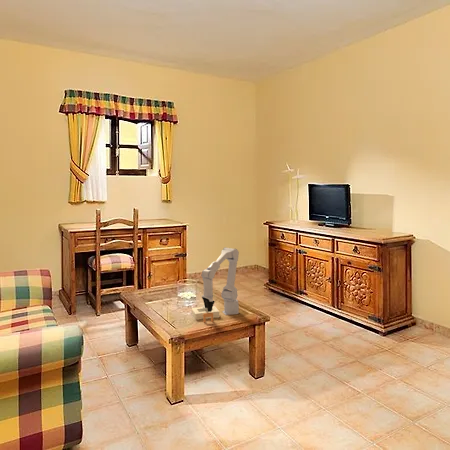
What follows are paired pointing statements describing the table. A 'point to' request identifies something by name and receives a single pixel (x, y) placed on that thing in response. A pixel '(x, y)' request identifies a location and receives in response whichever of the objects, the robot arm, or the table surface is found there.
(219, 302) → the table surface
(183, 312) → the table surface
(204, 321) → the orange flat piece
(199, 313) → the cream frame with crossbar
